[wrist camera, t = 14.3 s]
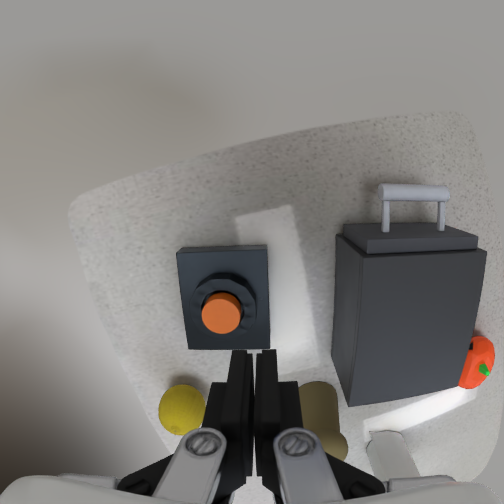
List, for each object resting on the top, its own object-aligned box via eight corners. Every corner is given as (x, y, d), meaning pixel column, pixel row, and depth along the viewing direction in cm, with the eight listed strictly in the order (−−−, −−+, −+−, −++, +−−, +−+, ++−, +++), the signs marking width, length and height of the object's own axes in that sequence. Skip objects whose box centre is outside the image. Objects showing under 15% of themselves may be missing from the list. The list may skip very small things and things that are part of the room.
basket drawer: (342, 181, 30) (367, 184, 23) (439, 184, 30) (480, 189, 22) (338, 342, 34) (355, 382, 27) (425, 332, 34) (455, 365, 26)
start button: (203, 292, 31) (199, 299, 29) (240, 291, 30) (238, 298, 29) (206, 325, 31) (203, 333, 30) (242, 325, 31) (241, 333, 30)
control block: (181, 248, 33) (170, 257, 29) (266, 244, 33) (267, 253, 29) (192, 340, 36) (184, 358, 32) (269, 339, 35) (270, 357, 32)
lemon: (186, 410, 39) (174, 451, 31) (159, 382, 38) (141, 422, 30) (218, 395, 38) (210, 438, 30) (191, 365, 37) (176, 407, 29)
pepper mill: (287, 414, 38) (291, 477, 27) (295, 379, 37) (304, 443, 26) (330, 416, 38) (344, 476, 27) (342, 382, 37) (362, 442, 26)
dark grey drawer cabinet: (335, 234, 32) (362, 257, 23) (438, 231, 32) (487, 251, 23) (330, 356, 36) (348, 407, 26) (423, 344, 35) (457, 386, 26)
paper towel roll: (398, 450, 40) (438, 550, 19) (364, 458, 40) (394, 565, 20) (406, 421, 38) (456, 530, 18) (368, 430, 39) (408, 548, 18)
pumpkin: (439, 381, 37) (458, 407, 30) (449, 333, 35) (473, 357, 29) (476, 370, 36) (497, 393, 30) (487, 323, 34) (512, 343, 28)
